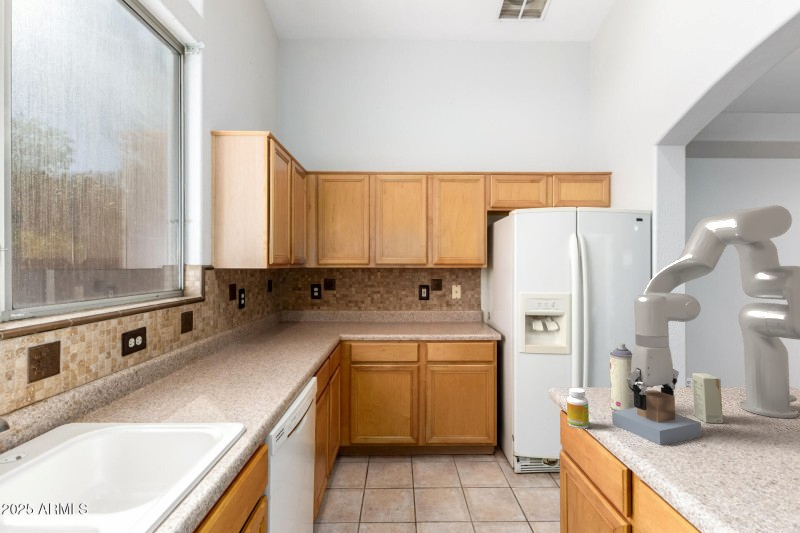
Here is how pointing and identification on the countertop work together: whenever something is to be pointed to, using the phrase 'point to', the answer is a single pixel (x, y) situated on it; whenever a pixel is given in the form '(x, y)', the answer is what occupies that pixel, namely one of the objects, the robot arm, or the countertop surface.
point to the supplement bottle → (577, 409)
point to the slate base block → (657, 427)
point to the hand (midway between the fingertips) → (654, 406)
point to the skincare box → (707, 397)
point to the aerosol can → (621, 379)
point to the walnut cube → (658, 406)
